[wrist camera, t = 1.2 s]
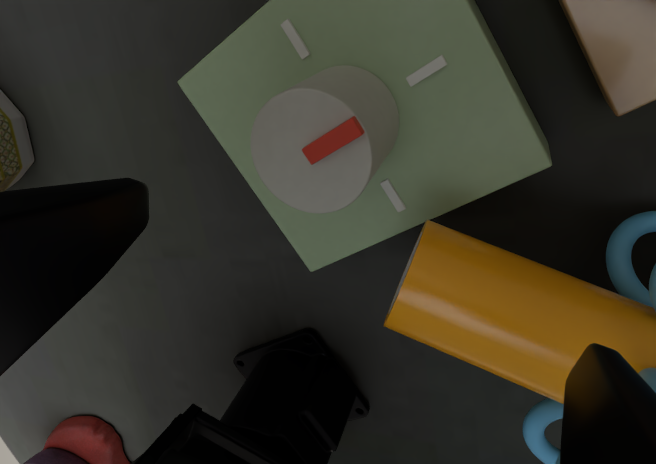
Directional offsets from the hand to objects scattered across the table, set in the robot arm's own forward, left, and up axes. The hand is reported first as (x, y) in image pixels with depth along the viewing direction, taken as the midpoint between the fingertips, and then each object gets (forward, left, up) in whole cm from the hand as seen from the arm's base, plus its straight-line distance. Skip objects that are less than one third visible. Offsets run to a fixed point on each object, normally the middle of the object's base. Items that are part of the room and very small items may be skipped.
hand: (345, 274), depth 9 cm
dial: (-2, +2, -10) cm, 10 cm away
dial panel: (-2, +2, -12) cm, 12 cm away
